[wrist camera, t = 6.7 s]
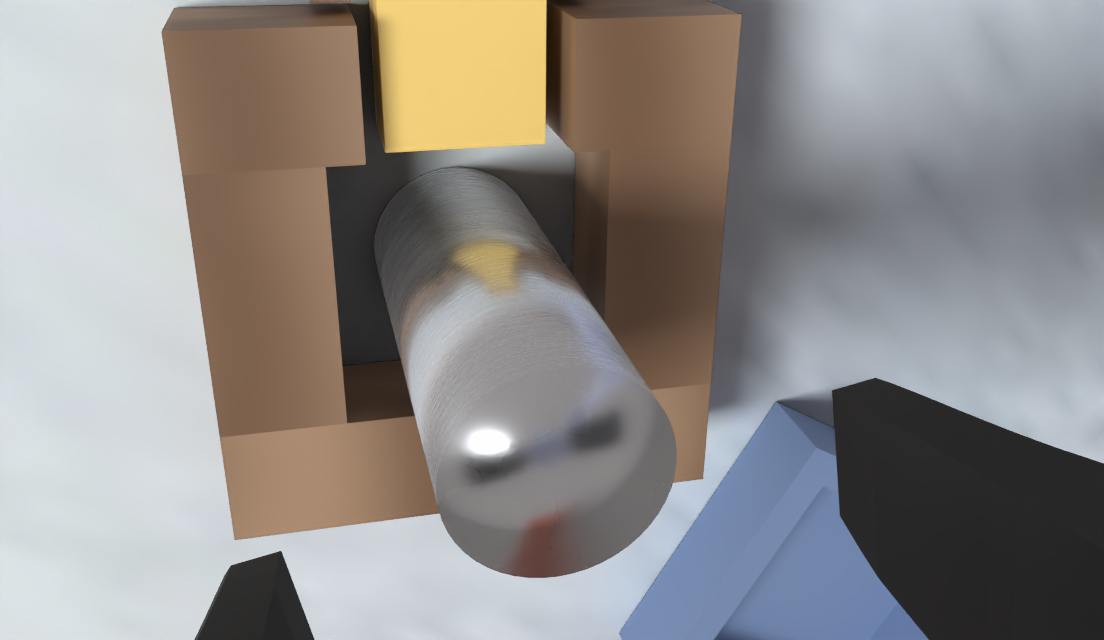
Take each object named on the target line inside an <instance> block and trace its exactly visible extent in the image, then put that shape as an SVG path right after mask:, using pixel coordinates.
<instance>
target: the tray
mask: <svg viewBox="0 0 1104 640" xmlns="http://www.w3.org/2000/svg"><path fill="white" fill-rule="evenodd" d="M619 634H620V636H621V638H622V640H929V639H928V638H927V637H926V636H925V635H924V633H923V632H922V631H921V630H920V629H919V627H918V626H917V625H916V624H915V623H914V621H913V620H912V619H911V618H910V616H909V615H908V614H907V613H906V612H905V610H904V609H903V608H902V607H901V605H900V604H899V603H898V602H897V601H896V599H895V598H894V597H893V596H892V594H891V593H890V592H889V591H888V590H887V588H886V587H885V586H884V585H883V583H882V582H881V581H880V579H879V578H878V577H877V575H876V574H875V572H874V571H873V569H872V567H871V566H870V564H869V563H868V561H867V560H866V558H865V557H864V555H863V553H862V552H861V550H860V549H859V547H858V545H857V544H856V542H855V540H854V539H853V537H852V535H851V534H850V532H849V530H848V529H847V527H846V525H845V524H844V522H843V520H842V519H841V517H840V511H839V494H838V478H837V462H836V445H835V429H834V428H833V427H830V426H828V425H826V424H824V423H822V422H819V421H817V420H815V419H813V418H811V417H808V416H806V415H804V414H802V413H800V412H798V411H795V410H793V409H791V408H789V407H787V406H784V405H782V404H780V403H778V402H776V403H775V404H774V406H773V407H772V409H771V410H770V412H769V413H768V414H767V416H766V417H765V419H764V420H763V422H762V423H761V425H760V426H759V428H758V429H757V431H756V432H755V434H754V435H753V437H752V438H751V440H750V441H749V442H748V444H747V445H746V447H745V448H744V450H743V451H742V453H741V454H740V456H739V457H738V459H737V460H736V462H735V463H734V465H733V466H732V468H731V469H730V471H729V472H728V473H727V475H726V476H725V478H724V479H723V481H722V482H721V484H720V485H719V487H718V488H717V490H716V491H715V493H714V494H713V496H712V497H711V499H710V500H709V501H708V503H707V504H706V506H705V507H704V509H703V510H702V512H701V513H700V515H699V516H698V518H697V519H696V521H695V522H694V524H693V525H692V527H691V528H690V529H689V531H688V532H687V534H686V535H685V537H684V538H683V540H682V541H681V543H680V544H679V546H678V547H677V549H676V550H675V552H674V553H673V555H672V556H671V558H670V559H669V560H668V562H667V563H666V565H665V566H664V568H663V569H662V571H661V572H660V574H659V575H658V577H657V578H656V580H655V581H654V583H653V584H652V586H651V587H650V588H649V590H648V591H647V593H646V594H645V596H644V597H643V599H642V600H641V602H640V603H639V605H638V606H637V608H636V609H635V611H634V612H633V614H632V615H631V617H630V618H629V619H628V621H627V622H626V624H625V625H624V627H623V628H622V630H621V631H620V633H619Z"/></svg>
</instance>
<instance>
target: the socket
mask: <svg viewBox="0 0 1104 640" xmlns="http://www.w3.org/2000/svg"><path fill="white" fill-rule="evenodd" d="M328 2H351V0H310V3H328ZM741 17H742V14H740V13H737V12H735V11H732V10H730V9H727V8H725V7H722V6H720V5H717V4H715V3H712V2H710V1H707V0H546V123H547V124H548V125H549V126H550V127H551V129H552V130H553V131H554V132H555V133H556V134H557V135H558V136H559V137H560V138H561V139H562V140H563V141H564V143H565V144H566V145H567V146H568V147H569V148H570V149H571V150H572V151H573V152H574V153H575V198H574V249H573V277H574V278H575V280H576V281H577V282H578V284H579V285H580V287H581V288H582V290H583V291H584V293H585V294H586V296H587V297H588V299H589V300H590V302H591V303H592V305H593V306H594V308H595V309H596V311H597V312H598V313H599V315H600V316H601V318H602V319H603V321H604V322H605V324H606V325H607V327H608V328H609V330H610V331H611V333H612V334H613V336H614V337H615V339H616V340H617V341H618V343H619V344H620V346H621V347H622V349H623V350H624V352H625V353H626V355H627V356H628V358H629V359H630V361H631V362H632V364H633V365H634V367H635V368H636V369H637V371H638V372H639V374H640V375H641V377H642V378H643V380H644V381H645V383H646V384H647V386H648V387H649V389H650V390H651V392H652V393H653V395H654V396H655V398H656V399H657V400H658V402H659V403H660V405H661V406H662V408H663V409H664V411H665V413H666V415H667V417H668V419H669V420H670V422H671V425H672V429H673V432H674V435H675V441H676V447H677V463H676V471H675V476H674V480H673V483H675V482H682V481H690V480H698V479H703V472H704V460H705V448H706V436H707V424H708V412H709V400H710V388H711V376H712V364H713V352H714V340H715V328H716V316H717V304H718V292H719V280H720V268H721V256H722V244H723V232H724V220H725V208H726V196H727V184H728V172H729V160H730V148H731V136H732V124H733V112H734V100H735V88H736V76H737V64H738V52H739V40H740V28H741ZM162 38H163V45H164V52H165V59H166V66H167V73H168V80H169V87H170V94H171V101H172V108H173V115H174V122H175V129H176V136H177V142H178V149H179V156H180V163H181V170H182V177H183V184H184V191H185V198H186V205H187V212H188V219H189V226H190V233H191V240H192V247H193V254H194V261H195V268H196V275H197V281H198V288H199V295H200V302H201V309H202V316H203V323H204V330H205V337H206V344H207V351H208V358H209V365H210V372H211V379H212V386H213V393H214V400H215V407H216V414H217V420H218V427H219V434H220V441H221V448H222V455H223V462H224V469H225V476H226V483H227V490H228V497H229V504H230V511H231V518H232V525H233V532H234V539H235V540H239V539H247V538H255V537H262V536H270V535H277V534H285V533H293V532H300V531H308V530H316V529H323V528H331V527H339V526H346V525H354V524H361V523H369V522H377V521H384V520H392V519H400V518H407V517H415V516H423V515H430V514H438V513H440V512H439V509H438V505H437V501H436V497H435V493H434V489H433V485H432V481H431V477H430V473H429V469H428V465H427V461H426V457H425V454H424V450H423V446H422V442H421V438H420V434H419V430H418V426H417V422H416V418H415V414H414V410H413V406H412V402H411V398H410V394H409V390H408V386H407V383H406V379H405V375H404V371H403V367H402V363H401V360H396V361H386V362H376V363H365V364H355V365H345V366H342V356H341V344H340V332H339V320H338V308H337V296H336V284H335V272H334V261H333V249H332V237H331V225H330V213H329V201H328V189H327V177H326V167H336V166H353V165H366V158H365V143H364V128H363V113H362V98H361V83H360V68H359V53H358V38H357V25H356V23H355V21H354V18H353V16H352V14H351V11H350V9H349V7H348V4H311V5H271V6H231V7H191V8H174V9H173V11H172V13H171V15H170V17H169V19H168V20H167V22H166V24H165V26H164V28H163V30H162Z"/></svg>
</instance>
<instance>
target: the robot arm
mask: <svg viewBox="0 0 1104 640" xmlns="http://www.w3.org/2000/svg"><path fill="white" fill-rule="evenodd" d="M832 396H833V413H834V429H835V445H836V462H837V478H838V494H839V511H840V517H841V519H842V520H843V522H844V524H845V525H846V527H847V529H848V530H849V532H850V534H851V535H852V537H853V539H854V540H855V542H856V544H857V545H858V547H859V549H860V550H861V552H862V553H863V555H864V557H865V558H866V560H867V561H868V563H869V564H870V566H871V567H872V569H873V571H874V572H875V574H876V575H877V577H878V578H879V579H880V581H881V582H882V583H883V585H884V586H885V587H886V588H887V590H888V591H889V592H890V593H891V594H892V596H893V597H894V598H895V599H896V601H897V602H898V603H899V604H900V605H901V607H902V608H903V609H904V610H905V612H906V613H907V614H908V615H909V616H910V618H911V619H912V620H913V621H914V623H915V624H916V625H917V626H918V627H919V629H920V630H921V631H922V632H923V633H924V635H925V636H926V637H927V638H928V639H929V640H1104V464H1103V463H1100V462H1097V461H1094V460H1091V459H1088V458H1085V457H1082V456H1079V455H1076V454H1073V453H1070V452H1067V451H1064V450H1061V449H1058V448H1055V447H1053V446H1050V445H1047V444H1044V443H1042V442H1039V441H1036V440H1033V439H1031V438H1028V437H1025V436H1023V435H1020V434H1017V433H1015V432H1012V431H1009V430H1007V429H1004V428H1002V427H999V426H997V425H994V424H992V423H989V422H987V421H984V420H982V419H979V418H977V417H974V416H972V415H969V414H967V413H964V412H962V411H959V410H957V409H954V408H952V407H950V406H947V405H945V404H942V403H940V402H937V401H935V400H932V399H930V398H927V397H925V396H922V395H920V394H918V393H915V392H913V391H910V390H907V389H905V388H902V387H900V386H897V385H894V384H892V383H889V382H886V381H883V380H880V379H877V378H874V379H870V380H867V381H863V382H860V383H856V384H853V385H849V386H846V387H843V388H839V389H836V390H832ZM195 640H314V637H313V635H312V632H311V629H310V627H309V624H308V621H307V619H306V616H305V613H304V611H303V608H302V605H301V603H300V600H299V597H298V595H297V592H296V589H295V587H294V584H293V581H292V579H291V576H290V573H289V571H288V568H287V565H286V563H285V560H284V557H283V555H282V552H281V551H279V552H276V553H273V554H269V555H266V556H262V557H259V558H255V559H252V560H249V561H245V562H242V563H238V564H235V565H231V566H230V568H229V569H228V571H227V573H226V574H225V576H224V578H223V580H222V582H221V584H220V586H219V589H218V591H217V593H216V595H215V597H214V600H213V602H212V604H211V606H210V608H209V610H208V613H207V615H206V617H205V619H204V621H203V623H202V625H201V627H200V630H199V632H198V634H197V636H196V638H195Z"/></svg>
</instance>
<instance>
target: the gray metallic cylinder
mask: <svg viewBox="0 0 1104 640" xmlns="http://www.w3.org/2000/svg"><path fill="white" fill-rule="evenodd" d="M374 252H375V259H376V264H377V268H378V272H379V276H380V280H381V284H382V288H383V292H384V296H385V300H386V304H387V308H388V312H389V315H390V319H391V323H392V327H393V331H394V335H395V339H396V343H397V347H398V351H399V355H400V359H401V363H402V367H403V371H404V375H405V379H406V383H407V386H408V390H409V394H410V398H411V402H412V406H413V410H414V414H415V418H416V422H417V426H418V430H419V434H420V438H421V442H422V446H423V450H424V454H425V457H426V461H427V465H428V469H429V473H430V477H431V481H432V485H433V489H434V493H435V497H436V501H437V505H438V509H439V512H440V515H441V519H442V521H443V523H444V525H445V527H446V530H447V532H448V533H449V535H450V536H451V537H452V539H453V540H454V542H455V543H456V544H457V545H458V546H459V547H460V548H461V549H462V550H463V551H464V552H465V553H466V554H467V555H469V556H470V557H471V558H473V559H474V560H475V561H477V562H479V563H480V564H482V565H484V566H486V567H488V568H490V569H493V570H496V571H498V572H501V573H505V574H509V575H513V576H520V577H528V578H546V577H556V576H562V575H567V574H572V573H575V572H579V571H582V570H585V569H588V568H590V567H593V566H595V565H597V564H599V563H602V562H604V561H605V560H607V559H609V558H611V557H613V556H614V555H616V554H617V553H619V552H620V551H622V550H623V549H625V548H626V547H627V546H629V545H630V544H631V543H632V542H633V541H634V540H636V539H637V538H638V537H639V536H640V535H641V534H642V533H643V532H644V531H645V530H646V529H647V528H648V526H649V525H650V524H651V523H652V521H653V520H654V519H655V517H656V516H657V515H658V513H659V512H660V510H661V508H662V506H663V505H664V503H665V501H666V499H667V497H668V494H669V492H670V490H671V487H672V483H673V480H674V476H675V471H676V463H677V447H676V441H675V435H674V432H673V429H672V425H671V422H670V420H669V419H668V417H667V415H666V413H665V411H664V409H663V408H662V406H661V405H660V403H659V402H658V400H657V399H656V398H655V396H654V395H653V393H652V392H651V390H650V389H649V387H648V386H647V384H646V383H645V381H644V380H643V378H642V377H641V375H640V374H639V372H638V371H637V369H636V368H635V367H634V365H633V364H632V362H631V361H630V359H629V358H628V356H627V355H626V353H625V352H624V350H623V349H622V347H621V346H620V344H619V343H618V341H617V340H616V339H615V337H614V336H613V334H612V333H611V331H610V330H609V328H608V327H607V325H606V324H605V322H604V321H603V319H602V318H601V316H600V315H599V313H598V312H597V311H596V309H595V308H594V306H593V305H592V303H591V302H590V300H589V299H588V297H587V296H586V294H585V293H584V291H583V290H582V288H581V287H580V285H579V284H578V282H577V281H576V280H575V278H574V277H573V275H572V274H571V272H570V271H569V269H568V268H567V266H566V265H565V263H564V262H563V260H562V259H561V257H560V256H559V254H558V253H557V252H556V250H555V249H554V247H553V246H552V244H551V243H550V241H549V240H548V238H547V237H546V235H545V234H544V232H543V231H542V229H541V228H540V226H539V225H538V224H537V222H536V221H535V219H534V218H533V216H532V215H531V213H530V212H529V210H528V209H527V207H526V206H525V204H524V203H523V201H522V200H521V199H520V197H519V196H518V195H517V193H516V192H515V191H514V190H513V189H512V188H511V187H510V186H509V185H507V184H506V183H505V182H503V181H502V180H501V179H499V178H497V177H495V176H494V175H491V174H489V173H486V172H484V171H480V170H477V169H472V168H464V167H452V168H444V169H439V170H435V171H431V172H429V173H426V174H424V175H421V176H419V177H418V178H416V179H414V180H412V181H411V182H409V183H408V184H407V185H405V186H404V187H403V188H402V189H400V190H399V191H398V192H397V193H396V194H395V195H394V197H393V198H392V199H391V200H390V202H389V203H388V204H387V206H386V208H385V209H384V211H383V213H382V215H381V217H380V220H379V222H378V225H377V229H376V233H375V241H374Z"/></svg>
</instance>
